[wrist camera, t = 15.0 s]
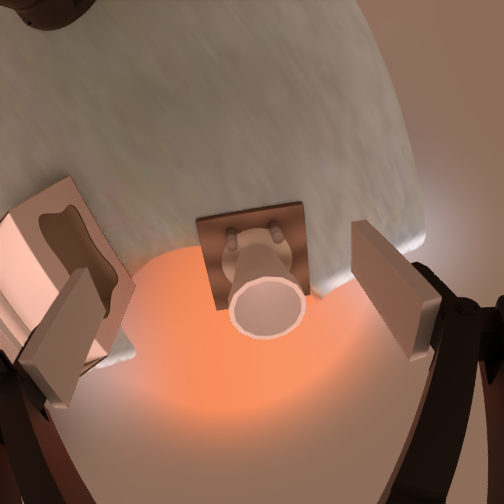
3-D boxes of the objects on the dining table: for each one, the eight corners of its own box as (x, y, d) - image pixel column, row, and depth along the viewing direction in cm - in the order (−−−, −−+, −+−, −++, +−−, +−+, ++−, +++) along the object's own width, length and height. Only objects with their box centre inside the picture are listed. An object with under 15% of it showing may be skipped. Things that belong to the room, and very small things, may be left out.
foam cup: (257, 220, 47) (269, 261, 36) (299, 258, 51) (321, 305, 39) (214, 263, 50) (212, 313, 38) (257, 297, 53) (266, 350, 41)
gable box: (19, 211, 44) (-87, 296, 19) (69, 173, 43) (-51, 249, 18) (83, 311, 54) (26, 429, 28) (137, 287, 52) (89, 421, 27)
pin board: (196, 218, 48) (192, 235, 42) (301, 201, 48) (311, 215, 42) (216, 305, 55) (216, 329, 49) (308, 290, 55) (317, 311, 49)
